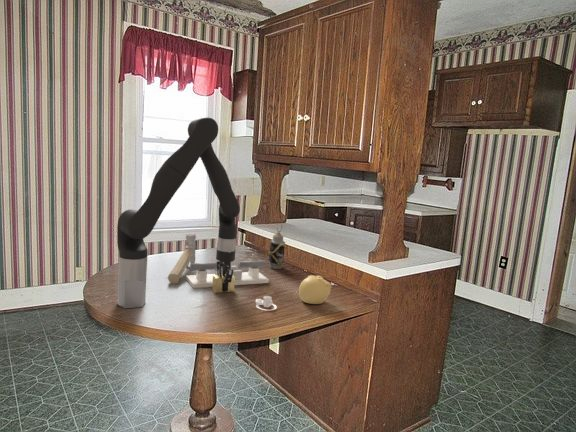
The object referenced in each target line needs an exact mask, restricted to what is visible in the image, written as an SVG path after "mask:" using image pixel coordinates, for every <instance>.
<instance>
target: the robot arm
mask: <svg viewBox="0 0 576 432" xmlns="http://www.w3.org/2000/svg"><path fill="white" fill-rule="evenodd" d="M187 134H188V137H187V139H186V141H185V142H184V143H183V144H182V145H181V147H179V148H178V149H177V150H176V151H174V152H173V153H172V154H171V155H170V156H169V157H168V158H167V159H166V160H165V161H164V162H163V164H162V165H161V166H160V167H159V169H158V170H157V172H156V173H155V175H154V178H153V179H152V183H151V187H150V192H149V194H148V196H147V198H146V199H145V201H144V202H143V204H142V205H141V206H140V207H139V209H133V208H132V209H131V208H130V209H126V210H124V211H123V212H122V213H121V214H120V215H119V218H118V220H117V224H116V225H117V226H116V227H117V228H116V229H117V230H116V232H117V234H116V235H117V236H116V238H117V243H116V244H117V248H118V249H117V250H118V251H119V254H118V279H117V306H119V307H121V308H123V309H133V308H142V307H143V306H145V304H146V297H147V296H146V295H147V294H146V292H147V273H148V272H147V271H148V257H149V256H148V253H149V250H148V247H147V246H146V244H145V241H144V240H145V238H147V237H148V236H149V235H150V234H151V232H153V230H154V228H155V226H156V225H157V222H158V221H159V219H160V217H161V215H162V213H163V212H164V210H165V209H166V207H167V205H168V204H169V202H170V201H171V200H172V198H173V197H174V196H175V194H176V193H177V192H178V190H179V189H180V188H181V186H182V184H183V183H184V182H185V180H186V179H187V177H188V176H189V174H190V173H191V171H192V170H193V168H194V166H196V164H197V162H198V160H199V159H200V160H201V162H202V164H203V166H204V169H205V170H206V171H205V172H206V173H207V176H208V179H209V182H210V183H211V184H210V185H211V187H212V190H213V193H214V194H215V196H216V197H217V199H218V202H219V206H218V222H219V223H218V224H219V227H218V237H217V243H216V254H215V259H216V260H217V261H216V263H217V275H222V277H223V286H222V291H223V292H222V293H227V292H226V291H228V283H229V282H231V280H232V276H233V270H231V266H232V264H231V263H232V262H234V261H235V260H236V248H237V229H238V228H237V224H236V218H237V217H238V216H239V214H240V210H241V207H240V203H239V202H238V198H237V196H236V195H235V192H234V190H233V189H232V188H233V187H232V185H231V181H230V179H229V175H228V174H227V171H226V169H225V167H224V165H223V164H222V162H221V161H220V159H219V158H218V156H217V155H216V154H217V153H215V150H214V147H213V145H212V143H213V142H214V141H215V140H216V139H217V137H218V135H219V125H218V122H217V121H216V119H215V118H214V119H213V118H211V117H210V116H209V117H208V116H205V117H204V116H203V117H199V118H196V119H194V120H192V121H191V122H189V124H188V126H187Z"/></svg>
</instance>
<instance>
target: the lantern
mask: <svg viewBox="0 0 576 432" xmlns="http://www.w3.org/2000/svg"><path fill="white" fill-rule="evenodd" d="M279 220H280V223H281V224H283V222H282V219H281V218H278V219H277V222H276V224H278V223H279ZM276 230H277V233H275V234H273V235H272V240H270V244H269V250H268V258H267V259H268V267H269V268H270V269H274V270H281V269H282V268H283V265H284V261H285V249H286V248H285V247H286V241H284V235H282V234H281V232H282V230H283V226H281V227H280V231H279V230H278V228H276Z"/></svg>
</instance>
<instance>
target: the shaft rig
mask: <svg viewBox="0 0 576 432" xmlns="http://www.w3.org/2000/svg"><path fill="white" fill-rule="evenodd" d="M237 267H238V269H237ZM265 267H266V260H250V261H249V260H247V261H245V260H242V261H238V263H237V265H231V270H233V276H234V277H235V285H234V286H242V285H256V284H269V282H270V279H269V278H268V277H266V276H265V275H264V274H263V273H261V272H260V268H265ZM243 269H248V271H245V272H243ZM213 270H214V273H208V271H213ZM189 271H191V272H193V271H194V272H195V271H196V273H195V274H191V275H190V274H189V275H187V274H186V275H185V280H186V281H187V282H188V283H189V285H190V286H191V287H192V288H193V289H199V288H212V283H213V275H217V262H199V263H197V262H195V263H192V264H190V263H189Z"/></svg>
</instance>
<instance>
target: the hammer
mask: <svg viewBox="0 0 576 432" xmlns="http://www.w3.org/2000/svg"><path fill="white" fill-rule="evenodd" d="M196 239H197V235H196V233H194V232H187V233H186V235H185V240H186V243H187V244H186V246H185V248H184V251H183V252H182V254H181V256H180V257H179V259H178V260H177V262H176V264H175V265H174V267H173V268H172V269H171V271H170V273H169V274H168V277H167V280H168V282H169V283H171V284H173V285H176V284H178V283H179V282H180V279H181V277H182V275H183V274H184V273H185V270H186V268H188V267H190V264H192V263H196V243H195V241H196ZM186 266H187V267H186Z"/></svg>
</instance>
